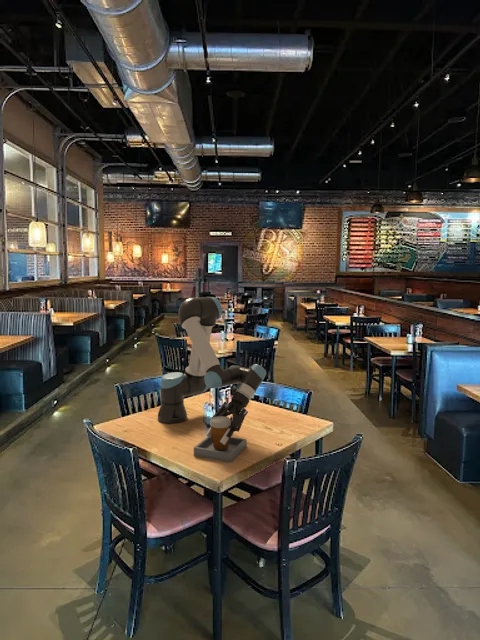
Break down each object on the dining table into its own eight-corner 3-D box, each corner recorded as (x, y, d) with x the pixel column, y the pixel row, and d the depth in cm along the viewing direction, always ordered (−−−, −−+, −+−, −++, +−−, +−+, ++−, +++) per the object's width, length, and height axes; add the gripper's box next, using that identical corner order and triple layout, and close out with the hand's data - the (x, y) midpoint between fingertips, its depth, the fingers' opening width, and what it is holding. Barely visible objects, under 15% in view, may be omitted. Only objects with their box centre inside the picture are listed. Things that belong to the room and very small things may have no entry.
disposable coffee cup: (233, 442, 191) (233, 416, 189) (230, 451, 181) (230, 424, 180) (211, 441, 192) (211, 415, 190) (208, 450, 182) (207, 423, 181)
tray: (193, 455, 182) (193, 447, 182) (211, 440, 198) (211, 433, 197) (231, 462, 176) (231, 454, 175) (246, 446, 191) (246, 439, 191)
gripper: (264, 406, 187) (236, 452, 178) (231, 395, 203) (204, 437, 194) (255, 396, 183) (227, 443, 174) (222, 386, 198) (194, 428, 189)
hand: (214, 439), depth 184 cm, fingers closed on disposable coffee cup, 9 cm apart
